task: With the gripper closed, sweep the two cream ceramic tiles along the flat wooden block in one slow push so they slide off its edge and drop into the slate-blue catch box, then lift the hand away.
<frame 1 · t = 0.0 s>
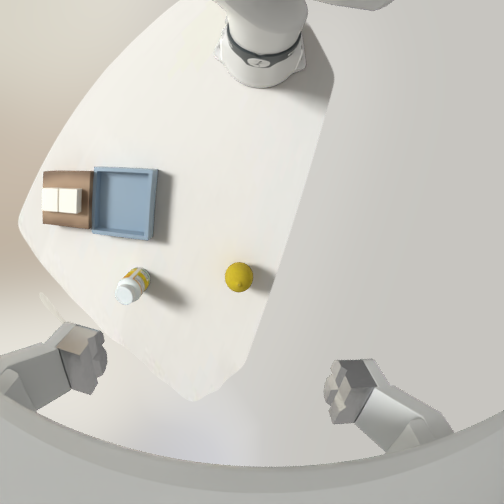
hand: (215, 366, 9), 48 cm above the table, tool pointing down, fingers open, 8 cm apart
catch box: (124, 200, 54), on the table
flat wooden block: (73, 196, 53), on the table
supplement bottle: (140, 277, 59), on the table
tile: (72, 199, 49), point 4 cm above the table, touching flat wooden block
lemon: (239, 269, 59), on the table
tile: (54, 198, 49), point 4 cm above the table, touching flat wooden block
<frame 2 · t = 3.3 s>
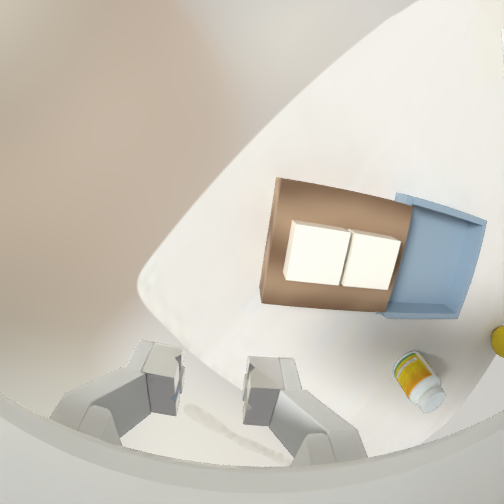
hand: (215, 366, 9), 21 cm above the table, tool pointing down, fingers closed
catch box: (426, 257, 31), on the table
flat wooden block: (330, 242, 30), on the table
supplement bottle: (406, 362, 36), on the table
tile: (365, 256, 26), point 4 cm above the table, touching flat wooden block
lemon: (492, 331, 36), on the table
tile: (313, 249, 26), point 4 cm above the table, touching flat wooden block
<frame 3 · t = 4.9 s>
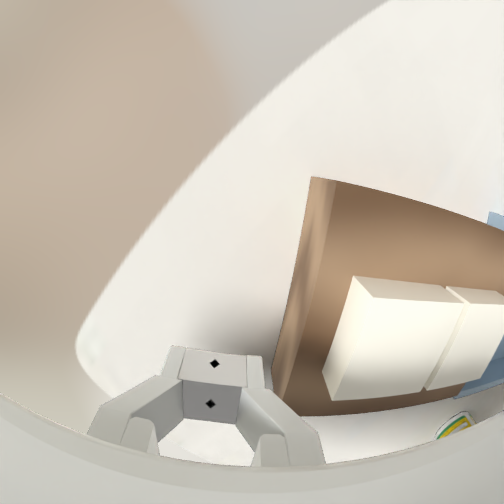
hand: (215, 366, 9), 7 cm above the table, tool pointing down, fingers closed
flat wooden block: (396, 297, 16), on the table
supplement bottle: (450, 424, 22), on the table
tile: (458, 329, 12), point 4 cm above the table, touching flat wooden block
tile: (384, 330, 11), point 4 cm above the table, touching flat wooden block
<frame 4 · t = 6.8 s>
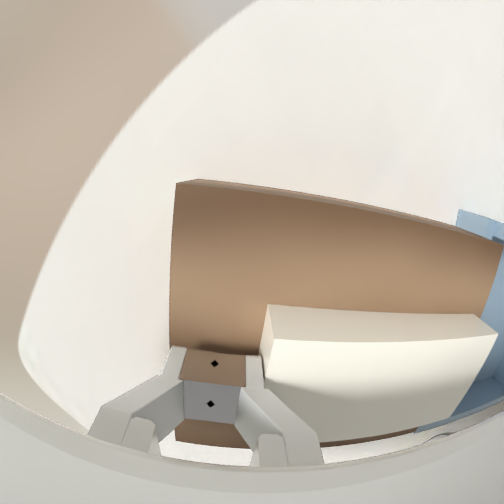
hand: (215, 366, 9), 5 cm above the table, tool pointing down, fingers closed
catch box: (485, 319, 15), on the table
flat wooden block: (326, 318, 14), on the table
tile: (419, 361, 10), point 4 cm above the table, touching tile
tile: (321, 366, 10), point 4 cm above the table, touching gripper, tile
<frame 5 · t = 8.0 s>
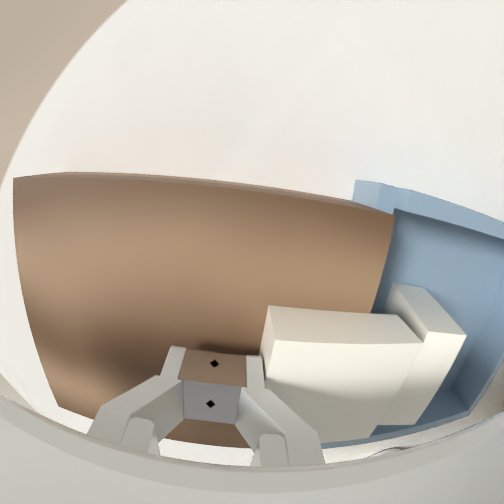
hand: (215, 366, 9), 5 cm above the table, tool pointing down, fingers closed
catch box: (426, 320, 14), on the table
flat wooden block: (187, 304, 13), on the table
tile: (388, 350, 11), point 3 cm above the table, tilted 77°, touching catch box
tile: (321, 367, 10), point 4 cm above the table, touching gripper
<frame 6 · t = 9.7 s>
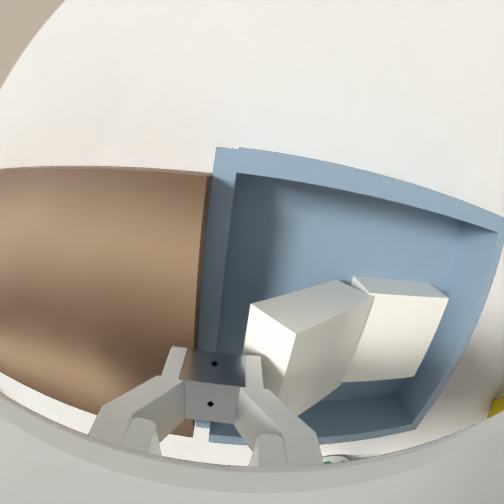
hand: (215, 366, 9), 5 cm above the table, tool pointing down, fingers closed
catch box: (341, 312, 14), on the table
flat wooden block: (82, 279, 13), on the table
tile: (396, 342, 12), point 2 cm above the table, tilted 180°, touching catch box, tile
lemon: (492, 399, 19), on the table
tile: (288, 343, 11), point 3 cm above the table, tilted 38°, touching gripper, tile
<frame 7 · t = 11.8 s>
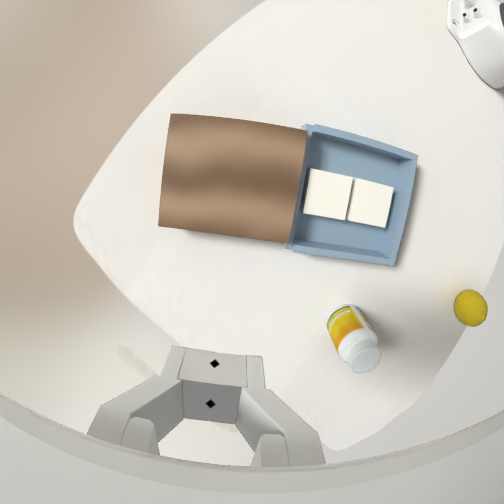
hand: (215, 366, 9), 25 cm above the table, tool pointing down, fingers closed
catch box: (347, 195, 32), on the table
flat wooden block: (231, 175, 31), on the table
supplement bottle: (342, 318, 38), on the table
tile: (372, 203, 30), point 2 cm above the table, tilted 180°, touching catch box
lemon: (456, 296, 38), on the table
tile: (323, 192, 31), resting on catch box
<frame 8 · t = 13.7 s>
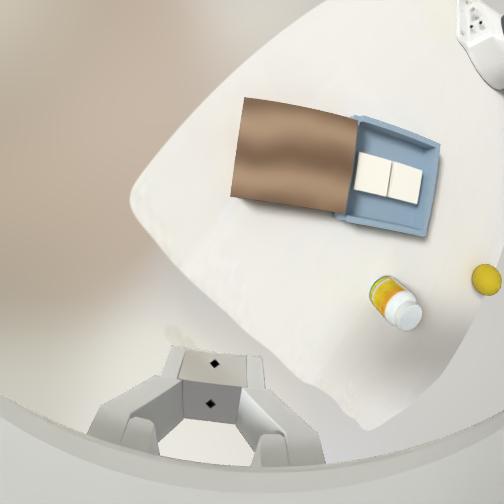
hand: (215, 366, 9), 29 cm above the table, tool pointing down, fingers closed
catch box: (385, 177, 35), on the table
flat wooden block: (291, 156, 34), on the table
supplement bottle: (381, 289, 41), on the table
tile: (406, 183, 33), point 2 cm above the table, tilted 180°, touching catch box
lemon: (473, 271, 41), on the table
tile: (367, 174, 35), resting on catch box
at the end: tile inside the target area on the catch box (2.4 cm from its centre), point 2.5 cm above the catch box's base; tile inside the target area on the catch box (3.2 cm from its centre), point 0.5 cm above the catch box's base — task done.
